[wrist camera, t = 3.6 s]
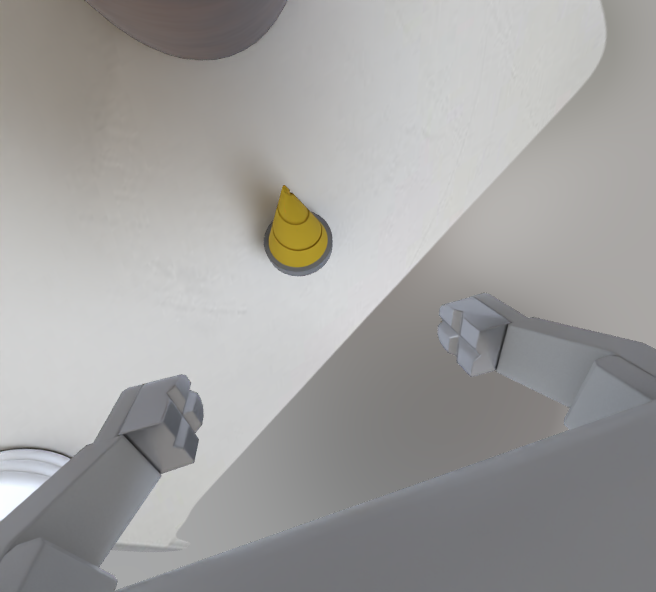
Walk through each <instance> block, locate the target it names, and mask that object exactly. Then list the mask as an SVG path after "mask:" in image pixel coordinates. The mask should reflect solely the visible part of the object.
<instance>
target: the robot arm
mask: <svg viewBox="0 0 656 592" xmlns="http://www.w3.org/2000/svg"><path fill="white" fill-rule="evenodd" d="M439 316H440V317H441V318H442V319H443V320H442V321H441V323H440V324H439V325H438V337H439V341H440V343H441V344H442V346H443V348H444V349H445V350H446V351H447V352H448V353H450V354H452V355H455V356H457V363H458V364H459V365H460V366H461V367H462V368H463V369H464V371H465V372H467V374H468V375H469V376H470V377H474V376H477V375H481V374H484V373H488V372H491V371H495V370H496V372H498V373H500V374H502V375H504V376H506V377H508V378H510V379H512V380H514V381H516V382H518V383H520V384H522V385H524V386H526V387H528V388H530V389H532V390H534V391H536V392H538V393H541V394H543V395H545V396H547V397H549V398H551V399H553V400H555V401H557V402H559V403H561V404H563V405H565V406H567V407H569V408H570V409H569V411H568V413H567V414H566V416H565V418H564V425H565V426H566V427H567V428H569V430H568V431H565V432H562V433H559V434H556V435H553V436H551V437H548V438H545V439H542V440H540V441H536V442H534V443H531V444H528V445H525V446H522V447H520V448H516V449H514V450H511V451H508V452H506V453H502V454H499V455H497V456H494V457H491V458H488V459H486V460H483V461H480V462H477V463H474V464H472V465H468V466H466V467H463V468H460V469H457V470H454V471H451V472H449V473H446V474H443V475H440V476H437V477H434V478H432V479H429V480H426V481H423V482H420V483H417V484H415V485H412V486H409V487H406V488H403V489H401V490H398V491H395V492H392V493H389V494H387V495H383V496H381V497H378V498H375V499H372V500H369V501H366V502H364V503H361V504H358V505H355V506H353V507H350V508H347V509H344V510H341V511H338V512H335V513H333V514H330V515H327V516H324V517H322V518H318V519H316V520H313V521H310V522H307V523H304V524H301V525H299V526H296V527H293V528H290V529H287V530H285V531H282V532H279V533H276V534H273V535H270V536H268V537H265V538H262V539H259V540H256V541H254V542H251V543H248V544H245V545H242V546H239V547H237V548H234V549H231V550H228V551H226V552H222V553H220V554H217V555H214V556H211V557H208V558H205V559H203V560H200V561H197V562H194V563H191V564H189V565H186V566H183V567H180V568H177V569H175V570H171V571H169V572H166V573H163V574H160V575H157V576H155V577H152V578H149V579H146V580H143V581H141V582H138V583H135V584H132V585H129V586H126V587H123V588H121V589H118V590H115V588H116V585H117V579H116V577H115V576H114V575H113V574H110V573H109V572H107V571H105V570H103V569H101V568H99V567H100V565H101V564H102V562H103V561H104V559H105V558H106V557H107V555H108V554H109V552H110V550H111V549H112V548H113V546H114V545H115V543H116V542H117V540H118V539H119V537H120V536H121V535H122V533H123V532H124V530H125V529H126V527H127V526H128V524H129V523H130V521H131V520H132V518H133V517H134V515H135V514H136V513H137V511H138V510H139V508H140V507H141V505H142V504H143V502H144V501H145V499H146V498H147V496H148V495H149V493H150V492H151V491H152V489H153V488H154V486H155V485H156V483H157V482H158V480H159V479H160V477H161V474H162V473H165V472H168V471H171V470H174V469H177V468H180V467H183V466H186V465H189V464H192V463H194V460H195V456H196V451H197V446H198V441H199V439H198V437H197V436H196V434H195V433H196V432H197V430H198V429H199V428H200V427H201V425H202V421H203V416H204V415H203V404H202V401H201V398H200V397H199V395H198V393H196V392H194V391H191V390H189V389H190V385H191V382H190V380H189V379H188V378H187V376H186V375H182V374H181V375H177V376H173V377H169V378H165V379H161V380H157V381H153V382H149V383H146V384H142V385H138V386H134V387H130V388H127V389H126V390H124V391H123V392H122V393H121V395H120V397H119V398H118V400H117V402H116V404H115V405H114V407H113V409H112V411H111V412H110V414H109V416H108V418H107V420H106V421H105V423H104V425H103V427H102V428H101V430H100V432H99V434H98V435H97V437H96V439H95V441H94V443H92V444H89V445H86V446H85V447H84V448H83V449H82V450H80V451H79V452H78V453H77V454H76V455H75V456H74V457H73V458H71V459H70V460H69V461H68V462H67V463H66V464H65V465H63V466H62V467H61V468H60V469H59V470H58V471H57V472H56V473H54V474H53V475H52V476H51V477H50V478H49V479H48V480H47V481H45V482H44V483H43V484H42V485H41V486H40V487H39V488H38V489H36V490H35V491H34V492H33V493H32V494H31V495H30V496H28V497H27V498H26V499H25V500H24V501H23V502H22V503H21V504H19V505H18V506H17V507H16V508H15V509H14V510H13V511H12V512H10V513H9V514H8V515H7V516H6V517H5V518H4V519H3V520H1V521H0V592H656V349H654V348H652V347H650V346H648V345H646V344H644V343H641V342H637V341H633V340H629V339H625V338H620V337H616V336H612V335H608V334H603V333H599V332H595V331H591V330H586V329H582V328H578V327H573V326H569V325H565V324H561V323H557V322H552V321H548V320H544V319H540V318H535V317H531V318H527V317H526V316H524V315H523V314H521V313H520V312H518V311H516V310H515V309H513V308H512V307H510V306H508V305H506V304H505V303H504V302H502V301H500V300H498V299H497V298H495V297H494V296H492V295H491V294H488V293H481V294H478V295H474V296H471V297H469V298H465V299H461V300H458V301H454V302H451V303H447V304H443V305H442V306H441V307H440V310H439Z"/></svg>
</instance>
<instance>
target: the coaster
mask: <svg viewBox="0 0 656 592" xmlns="http://www.w3.org/2000/svg"><path fill="white" fill-rule="evenodd" d="M69 460H70V458H68V457H66V456H63V455H61V454H58V453H54V452H50V451H45V450H37V449H15V450H7V451H2V452H0V521H1V520H3V519H4V518H5V517H6V516H7V515H8V514H9V513H10V512H12V511H13V510H14V509H15V508H16V507H17V506H18V505H19V504H21V503H22V502H23V501H24V500H25V499H26V498H27V497H28V496H30V495H31V494H32V493H33V492H34V491H35V490H36V489H38V488H39V487H40V486H41V485H42V484H43V483H44V482H45V481H47V480H48V479H49V478H50V477H51V476H52V475H53V474H54V473H56V472H57V471H58V470H59V469H60V468H61V467H62V466H63V465H65V464H66V463H67V462H68V461H69Z"/></svg>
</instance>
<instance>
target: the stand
mask: <svg viewBox="0 0 656 592" xmlns="http://www.w3.org/2000/svg"><path fill="white" fill-rule="evenodd" d="M85 1H86V2H87V3H88V4H90V5H91V6H92V7H93V8H94V9H96V10H97V11H98V12H99V13H100V14H101V15H103V16H104V17H105V18H106V19H107V20H109V21H110V22H111V23H112V24H114V25H115V26H116V27H118V28H119V29H121V30H122V31H124V32H125V33H126V34H128V35H129V36H131V37H132V38H134V39H136V40H138V41H140V42H142V43H143V44H145V45H147V46H149V47H151V48H153V49H156V50H158V51H161V52H163V53H166V54H169V55H173V56H176V57H180V58H184V59H193V60H215V59H220V58H224V57H229V56H232V55H234V54H236V53H239V52H241V51H243V50H245V49H246V48H248V47H249V46H251V45H252V44H254V43H256V42H257V41H258V40H259V39H260V38H261V37H262V36H263V35H264V34H265V33H266V32H267V31H268V30H269V29H270V27H271V26H272V25H273V24H274V22H275V21H276V20H277V18H278V16H279V15H280V13H281V11H282V10H283V8H284V6H285V4H286V2H287V0H85Z"/></svg>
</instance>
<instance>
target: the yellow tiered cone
mask: <svg viewBox="0 0 656 592" xmlns="http://www.w3.org/2000/svg"><path fill="white" fill-rule="evenodd" d="M264 247H265V251H266V253H267V256H268V258H269V259H270V261H271V262H272V264H273V265H274V266H275V267H276V268H277V269H278V270H279V271H281V272H283V273H285V274H288V275H292V276H305V275H309V274H312V273H314V272H316V271H318V270H319V269H321V268H322V267H323V266H324V265H325V264H326V262H327V261H328V259H329V257H330V255H331V252H332V233H331V230H330V228H329V226H328V224H327V223H326V221H325V220H324V219H323V218H321V217H320V216H319V215H317V214H315V213H313V212H310V211H309V210H308V209H307V208H306V207H305V206H304V204H303V203H302V202H301V201H300V200H299V199H298V198H297V197H296V196H295V195H294V194H293V193H290V190H289V189H288V188H287V187H286V186H285V185H283V187H282V190H281V194H280V198H279V201H278V205H277V209H276V213H275V216H274V220H273V221H272V222H271V224H270V225H269V227H268V228H267V231H266V233H265V237H264Z"/></svg>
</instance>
